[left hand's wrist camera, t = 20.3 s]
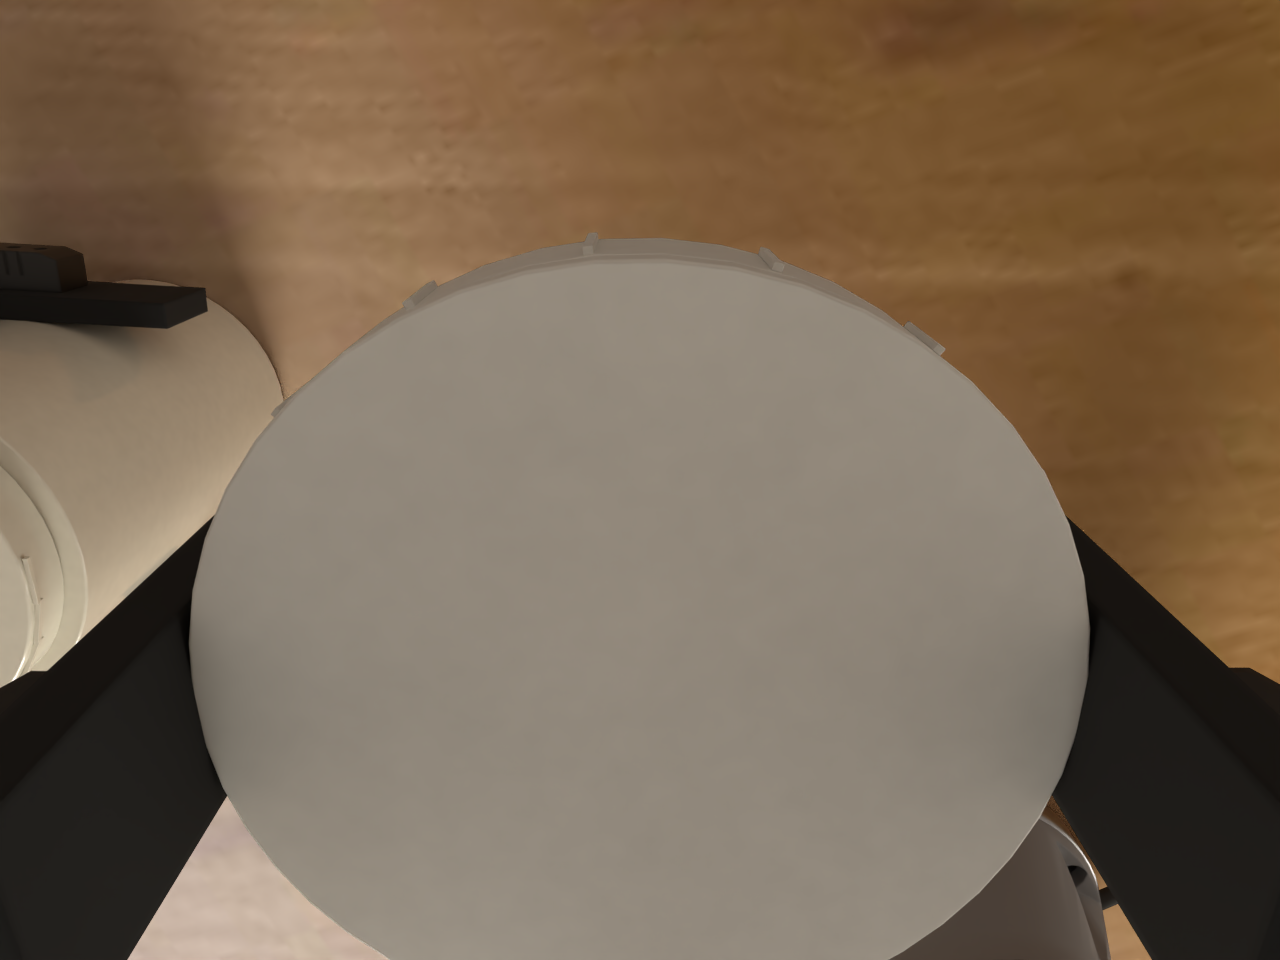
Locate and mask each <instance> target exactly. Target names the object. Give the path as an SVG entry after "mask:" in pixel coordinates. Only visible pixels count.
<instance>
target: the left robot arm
mask: <svg viewBox="0 0 1280 960" xmlns="http://www.w3.org/2000/svg"><path fill="white" fill-rule="evenodd" d="M214 516H215V515H214ZM214 516H213V517H212V518H211V519H209V520H208V521H207V522H206V523H205V524H204V525H203V526H202V527H201V528H200V529H199V530H198V531H197V532H196V533H194V534H193V535H192V536H191V537H190V538H189V539H188V540H187V541H186V542H185V543H184V544H183V545H182V546H181V547H179V548H178V549H177V550H176V551H175V552H174V553H173V554H172V555H171V556H170V557H169V558H168V559H167V560H166V561H164V562H163V563H162V564H161V565H160V566H159V567H158V568H157V569H156V570H155V571H154V572H153V573H152V574H150V575H149V576H148V577H147V578H146V579H145V580H144V581H143V582H142V583H141V584H140V585H139V586H138V587H137V588H135V589H134V590H133V591H132V592H131V593H130V594H129V595H128V596H127V597H126V598H125V599H124V600H123V601H122V602H120V603H119V604H118V605H117V606H116V607H115V608H114V609H113V610H112V611H111V612H110V613H109V614H108V615H107V616H105V617H104V618H103V619H102V620H101V621H100V622H99V623H98V624H97V625H96V626H95V627H94V628H93V629H92V630H90V631H89V632H88V633H87V634H86V635H85V636H84V637H83V638H82V639H81V640H80V641H79V642H78V643H76V644H75V645H74V646H73V647H72V648H71V649H70V650H69V651H68V652H67V653H66V654H65V655H64V656H63V657H61V658H60V659H59V660H58V661H57V662H56V663H55V664H54V665H53V666H52V667H51V668H50V669H49V670H48V671H30V672H28V673H26V674H24V675H22V676H21V677H19V678H17V679H15V680H13V681H12V682H10V683H8V684H6V685H4V686H3V687H1V688H0V960H127V959H128V958H129V956H130V954H131V953H132V951H133V949H134V948H135V946H136V944H137V943H138V941H139V939H140V938H141V936H142V935H143V933H144V931H145V930H146V928H147V926H148V925H149V923H150V921H151V920H152V918H153V916H154V915H155V913H156V912H157V910H158V908H159V907H160V905H161V903H162V902H163V900H164V898H165V897H166V895H167V893H168V892H169V890H170V889H171V887H172V885H173V884H174V882H175V880H176V879H177V877H178V875H179V874H180V872H181V870H182V869H183V867H184V866H185V864H186V862H187V861H188V859H189V857H190V856H191V854H192V852H193V851H194V849H195V848H196V846H197V844H198V843H199V841H200V839H201V838H202V836H203V834H204V833H205V831H206V829H207V828H208V826H209V825H210V823H211V821H212V820H213V818H214V816H215V815H216V813H217V811H218V810H219V808H220V806H221V805H222V803H223V802H224V800H225V798H226V797H227V794H226V792H225V790H224V789H223V787H222V784H221V782H220V779H219V777H218V774H217V772H216V769H215V767H214V764H213V762H212V759H211V757H210V754H209V752H208V749H207V747H206V743H205V739H204V735H203V730H202V726H201V721H200V717H199V712H198V708H197V703H196V699H195V694H194V689H193V684H192V677H191V665H190V653H189V633H190V619H191V605H192V592H193V587H194V583H195V578H196V574H197V570H198V566H199V561H200V557H201V553H202V549H203V545H204V540H205V537H206V535H207V533H208V530H209V528H210V525H211V523H212V520H213V518H214ZM1065 516H1066V515H1065ZM1066 519H1067V521H1068V523H1069V525H1070V529H1071V532H1072V536H1073V539H1074V543H1075V546H1076V550H1077V553H1078V557H1079V560H1080V564H1081V567H1082V571H1083V574H1084V581H1085V589H1086V598H1087V606H1088V615H1089V623H1090V645H1089V670H1088V679H1087V684H1086V689H1085V694H1084V698H1083V703H1082V708H1081V713H1080V717H1079V722H1078V727H1077V731H1076V735H1075V739H1074V743H1073V745H1072V748H1071V751H1070V754H1069V757H1068V760H1067V762H1066V765H1065V768H1064V771H1063V774H1062V776H1061V778H1060V780H1059V782H1058V783H1057V785H1056V787H1055V789H1054V791H1053V793H1052V796H1053V798H1054V799H1055V801H1056V802H1057V804H1058V806H1059V807H1060V809H1061V811H1062V812H1063V814H1064V816H1065V817H1066V819H1067V821H1068V822H1069V824H1070V825H1071V827H1072V829H1073V830H1074V832H1075V834H1076V835H1077V837H1078V839H1079V840H1080V842H1081V844H1082V845H1083V847H1084V848H1085V850H1086V852H1087V853H1088V855H1089V857H1090V858H1091V860H1092V862H1093V863H1094V865H1095V867H1096V868H1097V870H1098V871H1099V873H1100V875H1101V876H1102V878H1103V880H1104V881H1105V883H1106V885H1107V886H1108V887H1105V888H1103V889H1101V890H1099V888H1098V884H1097V881H1096V877H1095V874H1094V872H1093V870H1092V868H1091V865H1090V864H1089V862H1088V860H1087V859H1086V857H1085V855H1084V854H1083V852H1082V850H1081V849H1080V847H1079V845H1078V844H1077V842H1076V841H1075V839H1074V837H1073V836H1072V834H1071V832H1070V831H1069V829H1068V827H1067V826H1066V825H1065V824H1064V822H1063V821H1062V820H1061V819H1060V817H1059V816H1058V815H1057V814H1056V813H1055V812H1054V811H1053V810H1052V809H1051V808H1049V807H1048V806H1047V805H1046V806H1045V808H1044V810H1043V812H1042V814H1041V816H1040V818H1039V819H1038V821H1037V822H1036V823H1035V825H1034V826H1033V828H1032V829H1031V831H1030V832H1029V833H1028V835H1027V836H1026V838H1025V839H1024V840H1023V842H1022V843H1021V845H1020V846H1019V848H1018V849H1017V850H1016V852H1015V853H1014V855H1013V856H1012V857H1011V858H1010V860H1009V861H1008V862H1007V863H1006V864H1005V865H1004V866H1003V867H1002V868H1001V869H1000V871H999V872H998V873H997V874H996V875H995V876H994V877H993V878H992V879H991V880H990V882H989V883H988V884H987V885H986V886H985V887H984V888H983V889H982V890H981V891H980V892H979V893H978V894H977V895H976V896H975V897H974V898H973V899H971V900H970V901H969V902H968V903H967V904H966V905H965V906H963V907H962V908H961V909H960V910H959V911H958V912H956V913H955V914H954V915H953V916H952V917H951V918H949V919H948V920H947V921H946V922H945V923H944V924H943V925H941V926H940V927H938V928H937V929H935V930H934V931H932V932H931V933H929V934H928V935H926V936H925V937H924V938H922V939H921V940H919V941H918V942H916V943H915V944H913V945H912V946H910V947H909V948H908V949H906V950H905V951H903V952H901V953H900V954H898V955H896V956H894V957H892V958H890V959H889V960H1111V956H1110V951H1109V945H1108V939H1107V933H1106V928H1105V922H1104V916H1103V911H1102V910H1104V909H1107V908H1109V907H1112V906H1114V905H1116V904H1119V906H1120V908H1121V909H1122V911H1123V913H1124V914H1125V916H1126V917H1127V919H1128V921H1129V922H1130V924H1131V926H1132V927H1133V929H1134V931H1135V932H1136V934H1137V936H1138V937H1139V939H1140V940H1141V942H1142V944H1143V945H1144V947H1145V949H1146V950H1147V952H1148V954H1149V955H1150V957H1151V959H1152V960H1280V684H1278V683H1276V682H1274V681H1273V680H1271V679H1269V678H1267V677H1265V676H1264V675H1262V674H1260V673H1258V672H1256V671H1254V670H1253V669H1251V668H1229V667H1228V666H1226V665H1225V664H1224V663H1223V662H1222V661H1221V660H1220V659H1219V658H1218V657H1217V656H1216V655H1215V654H1214V653H1213V652H1211V651H1210V650H1209V649H1208V648H1207V647H1206V646H1205V645H1204V644H1203V643H1202V642H1201V641H1200V640H1199V639H1198V638H1196V637H1195V636H1194V635H1193V634H1192V633H1191V632H1190V631H1189V630H1188V629H1187V628H1186V627H1185V626H1184V625H1182V624H1181V623H1180V622H1179V621H1178V620H1177V619H1176V618H1175V617H1174V616H1173V615H1172V614H1171V613H1170V612H1169V611H1167V610H1166V609H1165V608H1164V607H1163V606H1162V605H1161V604H1160V603H1159V602H1158V601H1157V600H1156V599H1155V598H1154V597H1152V596H1151V595H1150V594H1149V593H1148V592H1147V591H1146V590H1145V589H1144V588H1143V587H1142V586H1141V585H1140V584H1139V583H1137V582H1136V581H1135V580H1134V579H1133V578H1132V577H1131V576H1130V575H1129V574H1128V573H1127V572H1126V571H1125V570H1124V569H1122V568H1121V567H1120V566H1119V565H1118V564H1117V563H1116V562H1115V561H1114V560H1113V559H1112V558H1111V557H1110V556H1108V555H1107V554H1106V553H1105V552H1104V551H1103V550H1102V549H1101V548H1100V547H1099V546H1098V545H1097V544H1096V543H1095V542H1093V541H1092V540H1091V539H1090V538H1089V537H1088V536H1087V535H1086V534H1085V533H1084V532H1083V531H1082V530H1081V529H1080V528H1078V527H1077V526H1076V525H1075V524H1074V523H1073V522H1072V521H1071V520H1070V519H1069V518H1068V517H1067V516H1066Z"/></svg>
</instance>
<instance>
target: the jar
mask: <svg viewBox="0 0 1280 960" xmlns="http://www.w3.org/2000/svg"><path fill="white" fill-rule="evenodd" d="M112 283H126V284H144V285H161V286H177V285H174V284H171V283H166V282H161V281H155V280H141V279H134V280H121V281H116V282H112ZM178 287H181V286H178ZM206 299H207V307H208V312H205V313H203V314H201V315H198V316H196V317H194V318H191V319H189V320H187V321H185V322H182V323H180V324H178V325H175V326H173V327H171V328H168V329H160V328H143V327H125V326H107V325H90V324H72V323H55V322H37V321H20V320H2V319H0V688H1V687H3V686H4V685H6V684H8V683H10V682H12V681H13V680H15V679H17V678H19V677H21V676H22V675H24V674H26V673H28V672H30V671H48V670H49V669H50V668H51V667H52V666H53V665H54V664H55V663H56V662H57V661H58V660H59V659H60V658H61V657H63V656H64V655H65V654H66V653H67V652H68V651H69V650H70V649H71V648H72V647H73V646H74V645H75V644H76V643H78V642H79V641H80V640H81V639H82V638H83V637H84V636H85V635H86V634H87V633H88V632H89V631H90V630H92V629H93V628H94V627H95V626H96V625H97V624H98V623H99V622H100V621H101V620H102V619H103V618H104V617H105V616H107V615H108V614H109V613H110V612H111V611H112V610H113V609H114V608H115V607H116V606H117V605H118V604H119V603H120V602H122V601H123V600H124V599H125V598H126V597H127V596H128V595H129V594H130V593H131V592H132V591H133V590H134V589H135V588H137V587H138V586H139V585H140V584H141V583H142V582H143V581H144V580H145V579H146V578H147V577H148V576H149V575H150V574H152V573H153V572H154V571H155V570H156V569H157V568H158V567H159V566H160V565H161V564H162V563H163V562H164V561H166V560H167V559H168V558H169V557H170V556H171V555H172V554H173V553H174V552H175V551H176V550H177V549H178V548H179V547H181V546H182V545H183V544H184V543H185V542H186V541H187V540H188V539H189V538H190V537H191V536H192V535H193V534H194V533H196V532H197V531H198V530H199V529H200V528H201V527H202V526H203V525H204V524H205V523H206V522H207V521H208V520H209V519H211V518H212V517H213V516H214V515H215V513H216V511H217V508H218V506H219V504H220V501H221V499H222V496H223V494H224V491H225V489H226V487H227V485H228V484H229V482H230V481H231V479H232V477H233V476H234V474H235V472H236V471H237V469H238V468H239V466H240V464H241V463H242V461H243V459H244V458H245V456H246V455H247V453H248V451H249V450H250V448H251V446H252V445H253V443H254V442H255V440H256V439H257V437H258V436H259V435H260V434H261V433H262V432H263V430H264V429H265V428H266V427H267V426H268V424H269V423H270V422H271V421H272V420H273V419H274V417H273V416H272V415H271V413H272V412H273V410H274V409H275V408H276V407H277V406H278V405H280V404H281V403H282V402H284V400H283V396H282V392H281V387H280V384H279V381H278V378H277V375H276V373H275V370H274V368H273V366H272V364H271V362H270V360H269V358H268V356H267V355H266V353H265V352H264V350H263V349H262V347H261V346H260V344H259V343H258V341H257V340H256V339H255V338H254V336H253V335H252V334H251V333H250V332H249V330H248V329H247V328H246V327H245V326H244V325H243V324H242V323H241V322H240V321H239V320H237V319H236V318H235V317H234V316H233V315H232V314H230V313H229V312H228V311H226V310H225V309H224V308H223V307H221V306H220V305H218V304H217V303H215V302H213V301H212V300H210V299H208V298H206Z"/></svg>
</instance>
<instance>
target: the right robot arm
mask: <svg viewBox="0 0 1280 960" xmlns="http://www.w3.org/2000/svg"><path fill="white" fill-rule="evenodd" d="M205 312H208V307H207V299H206V290H205V288H195V287H178V286H161V285H144V284H126V283H109V282H92V281H87V276H86V270H85V264H84V258H83V254H81V253H79V252H77V251H75V250H72V249H70V248H68V247H64V246H45V245H30V244H13V243H0V319H2V320H20V321H37V322H55V323H72V324H90V325H107V326H125V327H143V328H160V329H168V328H171V327H173V326H175V325H178V324H180V323H182V322H185V321H187V320H189V319H191V318H194V317H196V316H198V315H201V314H203V313H205Z"/></svg>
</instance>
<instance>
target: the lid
mask: <svg viewBox="0 0 1280 960" xmlns="http://www.w3.org/2000/svg"><path fill="white" fill-rule="evenodd" d="M402 304H403V305H404V307H403V308H402V309H400V310H398V311H397V312H395V313H394V314H392V315H391V316H389V317H387V318H386V319H384V320H383V321H382V322H380V323H379V324H378V325H377V326H375V327H374V328H373V329H372V330H370V331H369V332H368V333H366V334H365V335H364V336H363V337H361V338H360V339H359V340H358V341H356V342H355V343H354V344H353V345H351V346H350V347H349V348H347V349H346V350H345V351H344V352H342V353H341V354H340V355H339V356H338V357H337V358H335V359H334V360H333V361H332V362H331V363H330V364H328V365H327V366H326V367H325V368H324V369H323V370H322V371H320V372H319V373H318V374H317V375H316V376H315V377H313V378H312V379H311V380H310V381H309V382H307V383H306V384H305V385H304V386H302V387H301V388H300V389H299V390H297V391H296V392H295V393H294V394H292V395H291V396H290V397H289V398H287V399H286V400H285V401H284V402H282V403H281V404H280V405H278V406H277V407H276V408H275V409H274V410H273V412H272V413H271V415H272V416H273V417H274V419H273V420H272V421H271V422H270V423H269V424H268V426H267V427H266V428H265V429H264V430H263V432H262V433H261V434H260V435H259V436H258V437H257V439H256V440H255V442H254V443H253V445H252V446H251V448H250V450H249V451H248V453H247V455H246V456H245V458H244V459H243V461H242V463H241V464H240V466H239V468H238V469H237V471H236V472H235V474H234V476H233V477H232V479H231V481H230V482H229V484H228V485H227V487H226V489H225V491H224V494H223V496H222V499H221V501H220V504H219V506H218V508H217V511H216V513H215V516H214V518H213V520H212V523H211V525H210V528H209V530H208V533H207V535H206V537H205V540H204V545H203V549H202V553H201V557H200V561H199V566H198V570H197V574H196V578H195V583H194V587H193V592H192V605H191V619H190V633H189V653H190V665H191V677H192V684H193V689H194V694H195V699H196V703H197V708H198V712H199V717H200V721H201V726H202V730H203V735H204V739H205V743H206V747H207V749H208V752H209V754H210V757H211V759H212V762H213V764H214V767H215V769H216V772H217V774H218V777H219V779H220V782H221V784H222V787H223V789H224V790H225V792H226V794H227V796H228V797H229V799H230V801H231V803H232V804H233V806H234V808H235V810H236V811H237V813H238V815H239V817H240V818H241V820H242V822H243V824H244V825H245V827H246V829H247V830H248V832H249V833H250V834H251V836H252V837H253V838H254V839H255V841H256V842H257V843H258V845H259V846H260V847H261V849H262V850H263V851H264V853H265V854H266V855H267V857H268V858H269V859H270V860H271V862H272V863H273V864H274V866H275V867H276V868H277V869H278V870H279V871H280V872H281V873H282V874H283V875H284V876H285V877H286V878H287V879H288V881H289V882H290V883H291V884H292V885H293V886H294V887H295V888H296V889H297V890H298V891H299V892H300V893H301V894H302V895H303V896H304V897H305V898H306V899H307V900H308V901H309V902H310V903H311V904H312V905H314V906H315V907H316V908H317V909H319V910H320V911H321V912H322V913H324V914H325V915H326V916H327V917H329V918H330V919H331V920H332V921H334V922H335V923H336V924H337V925H338V926H340V927H341V928H342V929H343V930H345V931H346V932H347V933H349V934H350V935H352V936H353V937H355V938H356V939H358V940H359V941H361V942H363V943H364V944H366V945H367V946H369V947H370V948H372V949H374V950H375V951H377V952H378V953H380V954H381V955H383V956H384V957H386V958H388V959H389V960H889V959H890V958H892V957H894V956H896V955H898V954H900V953H901V952H903V951H905V950H906V949H908V948H909V947H910V946H912V945H913V944H915V943H916V942H918V941H919V940H921V939H922V938H924V937H925V936H926V935H928V934H929V933H931V932H932V931H934V930H935V929H937V928H938V927H940V926H941V925H943V924H944V923H945V922H946V921H947V920H948V919H949V918H951V917H952V916H953V915H954V914H955V913H956V912H958V911H959V910H960V909H961V908H962V907H963V906H965V905H966V904H967V903H968V902H969V901H970V900H971V899H973V898H974V897H975V896H976V895H977V894H978V893H979V892H980V891H981V890H982V889H983V888H984V887H985V886H986V885H987V884H988V883H989V882H990V880H991V879H992V878H993V877H994V876H995V875H996V874H997V873H998V872H999V871H1000V869H1001V868H1002V867H1003V866H1004V865H1005V864H1006V863H1007V862H1008V861H1009V860H1010V858H1011V857H1012V856H1013V855H1014V853H1015V852H1016V850H1017V849H1018V848H1019V846H1020V845H1021V843H1022V842H1023V840H1024V839H1025V838H1026V836H1027V835H1028V833H1029V832H1030V831H1031V829H1032V828H1033V826H1034V825H1035V823H1036V822H1037V821H1038V819H1039V818H1040V816H1041V814H1042V812H1043V810H1044V808H1045V806H1046V804H1047V803H1048V801H1049V799H1050V797H1051V795H1052V793H1053V791H1054V789H1055V787H1056V785H1057V783H1058V782H1059V780H1060V778H1061V776H1062V774H1063V771H1064V768H1065V765H1066V762H1067V760H1068V757H1069V754H1070V751H1071V748H1072V745H1073V743H1074V739H1075V735H1076V731H1077V727H1078V722H1079V717H1080V713H1081V708H1082V703H1083V698H1084V694H1085V689H1086V684H1087V679H1088V670H1089V645H1090V623H1089V615H1088V606H1087V598H1086V589H1085V581H1084V574H1083V571H1082V567H1081V564H1080V560H1079V557H1078V553H1077V550H1076V546H1075V543H1074V539H1073V536H1072V532H1071V529H1070V525H1069V523H1068V521H1067V519H1066V516H1065V514H1064V512H1063V510H1062V508H1061V506H1060V504H1059V501H1058V499H1057V497H1056V495H1055V493H1054V491H1053V489H1052V486H1051V484H1050V482H1049V480H1048V478H1047V475H1046V473H1045V471H1044V470H1043V469H1042V468H1041V466H1040V465H1039V463H1038V462H1037V460H1036V459H1035V457H1034V456H1033V454H1032V453H1031V452H1030V450H1029V449H1028V447H1027V446H1026V444H1025V443H1024V441H1023V440H1022V438H1021V437H1020V435H1019V434H1018V432H1017V431H1016V429H1015V428H1014V426H1013V425H1012V424H1011V423H1010V422H1009V421H1008V420H1007V419H1006V418H1005V417H1004V416H1003V414H1002V413H1001V412H1000V411H999V410H998V409H997V408H996V407H995V406H994V405H993V404H992V403H991V402H990V400H989V399H988V398H987V397H986V396H985V395H984V394H983V393H982V392H981V391H980V390H979V389H978V388H977V386H976V385H975V384H974V383H973V382H972V381H971V380H969V379H968V378H967V377H966V376H964V375H963V374H962V373H961V372H959V371H958V370H957V369H956V368H954V367H953V366H952V365H951V364H949V363H948V362H947V361H946V360H944V359H943V358H942V357H940V355H941V354H942V353H943V352H944V351H945V348H944V347H943V346H941V345H940V344H939V343H938V342H936V341H935V340H934V339H932V338H931V337H930V336H928V335H927V334H926V333H924V332H923V331H922V330H920V329H919V328H918V327H916V326H915V325H914V324H912V323H911V322H910V321H908V322H907V323H906V324H905V326H904V327H903V326H901V325H900V324H899V323H898V322H896V321H895V320H894V319H892V318H891V317H890V316H889V315H887V314H886V313H885V312H884V311H882V310H881V309H879V308H877V307H875V306H874V305H872V304H870V303H869V302H867V301H865V300H863V299H862V298H860V297H858V296H857V295H855V294H853V293H851V292H850V291H848V290H846V289H845V288H843V287H841V286H839V285H838V284H836V283H834V282H832V281H830V280H827V279H825V278H823V277H820V276H818V275H815V274H813V273H810V272H808V271H805V270H803V269H801V268H798V267H796V266H793V265H791V264H788V263H786V262H783V261H781V260H779V259H778V258H777V257H776V256H775V255H774V254H773V253H772V252H771V251H770V250H769V249H767V248H763V247H760V250H759V253H758V254H755V253H751V252H747V251H743V250H739V249H735V248H732V247H728V246H724V245H718V244H709V243H701V242H692V241H684V240H675V239H666V238H631V239H598V233H597V232H596V233H588V235H587V237H586V240H585V242H579V243H572V244H566V245H559V246H553V247H546V248H541V249H537V250H534V251H531V252H527V253H524V254H520V255H517V256H514V257H510V258H507V259H504V260H500V261H497V262H494V263H490V264H487V265H484V266H482V267H479V268H477V269H475V270H473V271H471V272H469V273H466V274H464V275H462V276H460V277H458V278H455V279H453V280H451V281H449V282H447V283H444V284H442V285H440V286H437V284H436V282H435V281H434V280H433V281H431V282H429V283H427V284H426V285H424V286H423V287H422V288H421V289H419V290H418V291H417V292H415V293H414V294H413V295H412V296H410V297H409V298H408V299H406V300H405V301H404V302H403V303H402Z"/></svg>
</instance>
